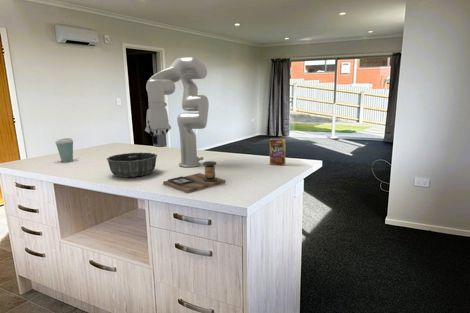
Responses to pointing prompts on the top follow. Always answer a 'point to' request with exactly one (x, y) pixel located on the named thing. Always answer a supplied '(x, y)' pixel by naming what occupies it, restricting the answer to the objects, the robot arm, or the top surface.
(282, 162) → the candy box
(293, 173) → the top surface
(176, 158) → the top surface
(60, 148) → the disposable coffee cup
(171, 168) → the top surface
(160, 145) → the gray rectangular block
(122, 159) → the bundt pan
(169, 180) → the winding board
